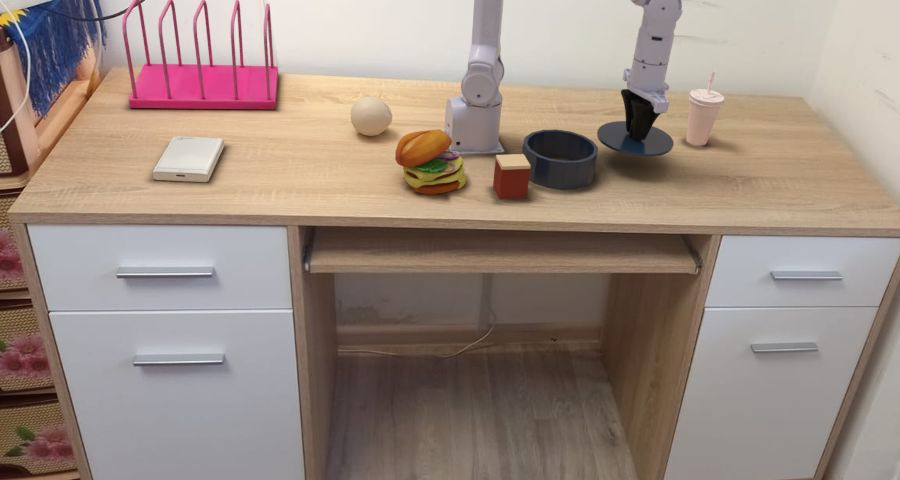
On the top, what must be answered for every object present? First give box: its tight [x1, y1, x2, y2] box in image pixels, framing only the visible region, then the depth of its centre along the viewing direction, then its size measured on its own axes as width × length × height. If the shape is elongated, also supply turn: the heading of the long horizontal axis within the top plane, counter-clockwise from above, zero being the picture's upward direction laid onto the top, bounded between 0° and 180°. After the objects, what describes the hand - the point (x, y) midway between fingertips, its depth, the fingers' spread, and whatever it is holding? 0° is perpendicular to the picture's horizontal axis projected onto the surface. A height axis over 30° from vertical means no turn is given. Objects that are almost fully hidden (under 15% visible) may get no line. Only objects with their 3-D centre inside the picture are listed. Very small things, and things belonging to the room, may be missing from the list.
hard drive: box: [152, 135, 225, 183], centre depth 132 cm, size 2×8×12 cm
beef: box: [492, 153, 531, 200], centre depth 132 cm, size 5×4×6 cm
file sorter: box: [121, 0, 279, 110], centre depth 152 cm, size 17×25×16 cm
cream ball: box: [350, 96, 393, 137], centre depth 146 cm, size 7×7×7 cm
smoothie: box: [685, 70, 725, 146], centre depth 153 cm, size 6×6×14 cm
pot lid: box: [596, 117, 674, 158], centre depth 142 cm, size 13×13×4 cm
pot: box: [521, 128, 599, 191], centre depth 139 cm, size 12×12×6 cm
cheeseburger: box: [394, 128, 467, 195], centre depth 132 cm, size 10×11×10 cm
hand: (635, 135), depth 143 cm, fingers closed on pot lid, 2 cm apart
